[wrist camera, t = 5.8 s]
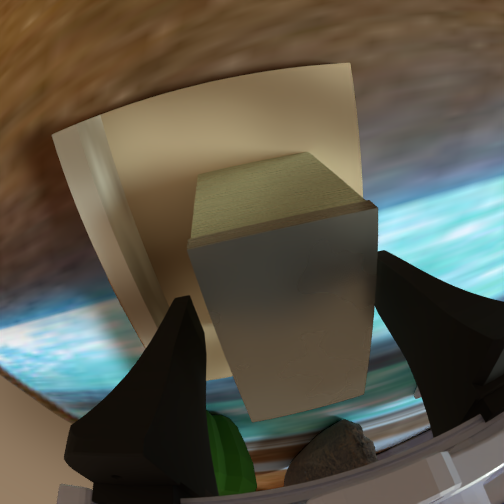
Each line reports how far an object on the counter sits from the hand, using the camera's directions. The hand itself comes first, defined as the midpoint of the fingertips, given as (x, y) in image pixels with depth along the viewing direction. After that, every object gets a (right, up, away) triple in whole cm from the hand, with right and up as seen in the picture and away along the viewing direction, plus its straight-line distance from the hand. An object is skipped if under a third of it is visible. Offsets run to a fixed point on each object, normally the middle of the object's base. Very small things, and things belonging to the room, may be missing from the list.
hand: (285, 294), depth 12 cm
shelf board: (-1, +2, +4) cm, 4 cm away
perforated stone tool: (+5, -18, +17) cm, 26 cm away
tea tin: (-1, +2, +2) cm, 3 cm away
